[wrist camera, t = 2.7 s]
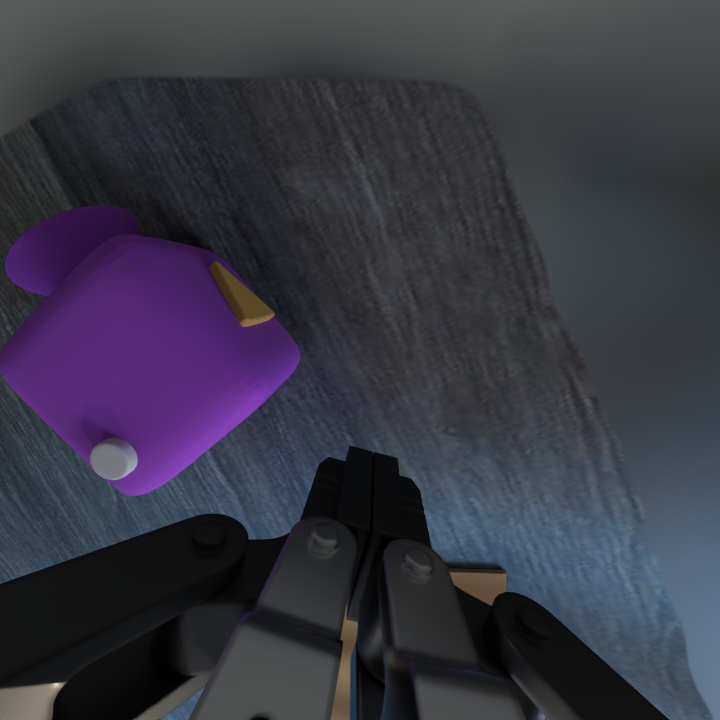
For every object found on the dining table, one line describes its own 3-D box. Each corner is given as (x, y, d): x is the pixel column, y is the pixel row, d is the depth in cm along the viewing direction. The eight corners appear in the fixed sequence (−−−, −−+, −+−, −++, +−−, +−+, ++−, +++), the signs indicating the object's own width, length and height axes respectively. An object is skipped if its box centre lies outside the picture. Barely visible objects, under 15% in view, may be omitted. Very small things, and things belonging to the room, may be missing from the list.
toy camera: (158, 192, 22) (-21, 114, 12) (328, 330, 23) (291, 362, 13) (77, 324, 24) (-134, 349, 14) (236, 444, 25) (145, 545, 15)
